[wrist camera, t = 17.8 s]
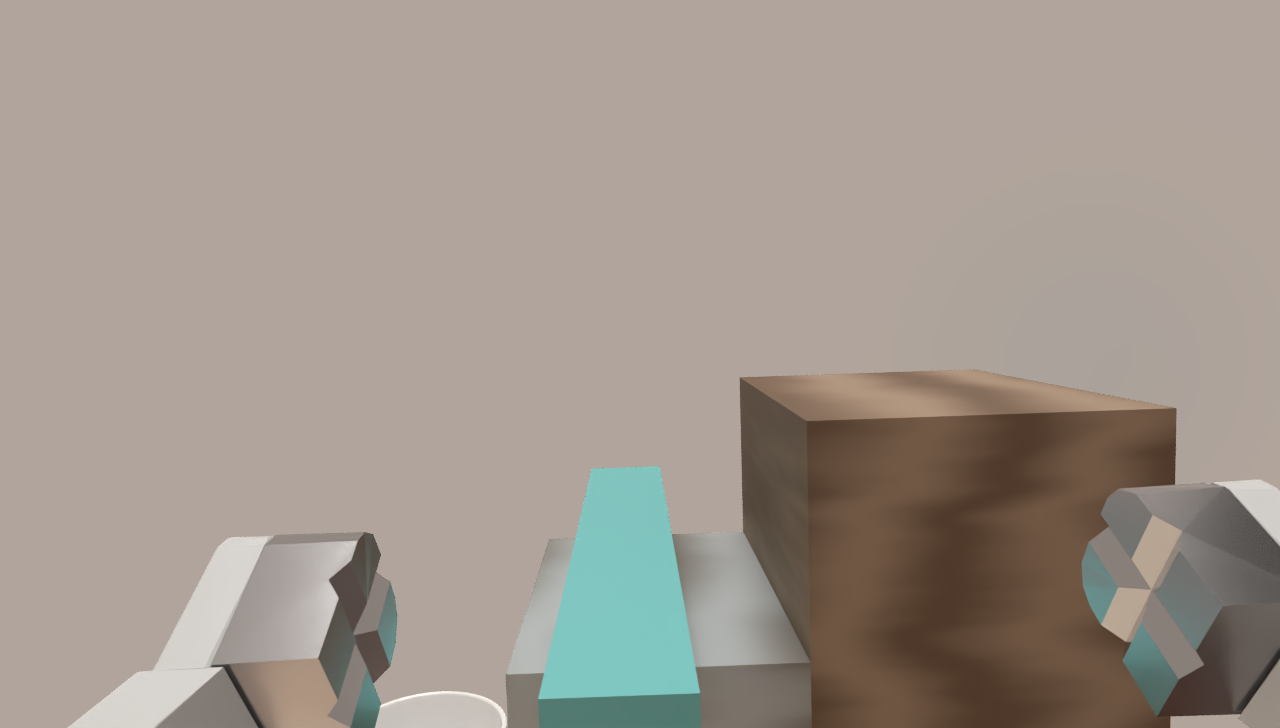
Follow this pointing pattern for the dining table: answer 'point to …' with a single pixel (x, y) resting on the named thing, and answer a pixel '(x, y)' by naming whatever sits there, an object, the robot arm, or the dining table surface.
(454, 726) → the white cup
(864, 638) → the stand
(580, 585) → the teal bar
